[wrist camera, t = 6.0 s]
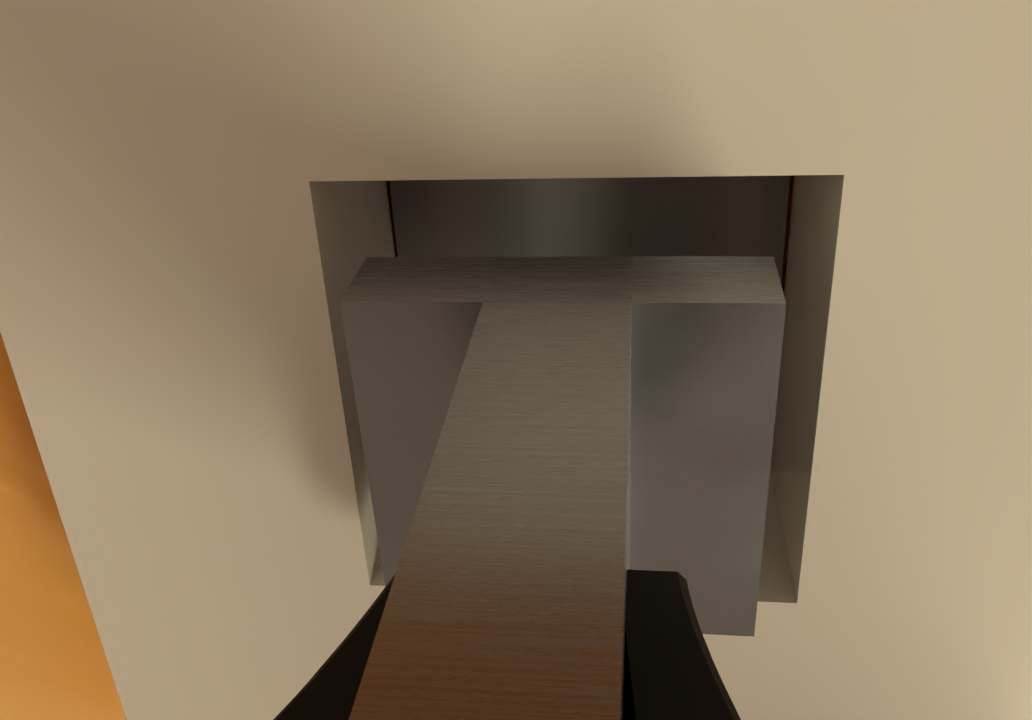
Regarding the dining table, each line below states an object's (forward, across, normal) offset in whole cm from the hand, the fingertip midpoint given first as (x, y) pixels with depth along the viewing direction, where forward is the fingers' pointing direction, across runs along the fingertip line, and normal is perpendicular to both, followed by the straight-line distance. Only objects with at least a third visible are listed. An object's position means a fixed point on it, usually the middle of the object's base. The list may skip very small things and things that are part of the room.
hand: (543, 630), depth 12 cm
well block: (+10, 0, 0) cm, 10 cm away
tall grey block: (+5, 0, 0) cm, 5 cm away
